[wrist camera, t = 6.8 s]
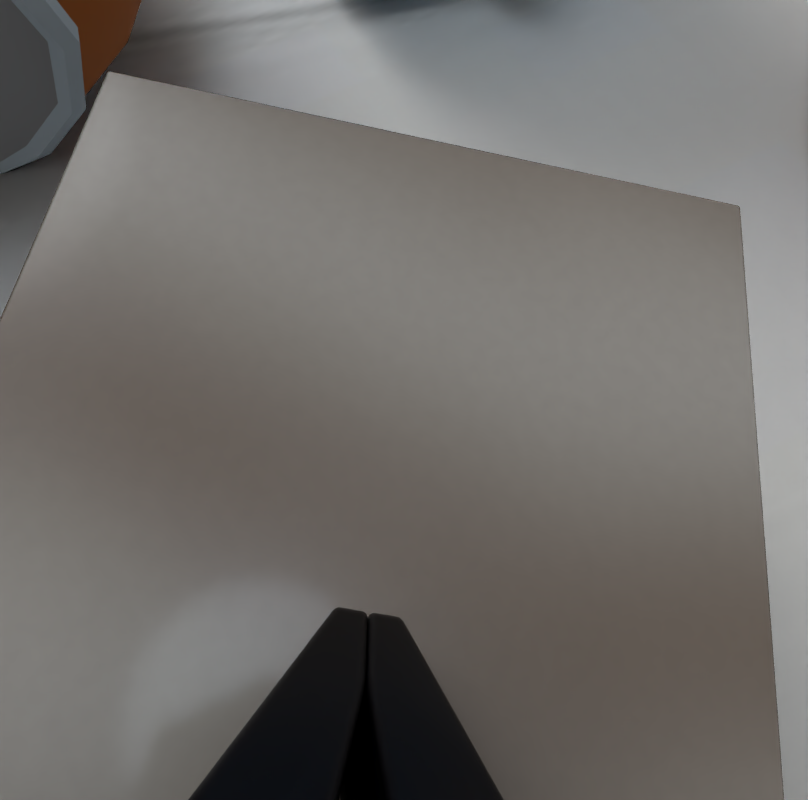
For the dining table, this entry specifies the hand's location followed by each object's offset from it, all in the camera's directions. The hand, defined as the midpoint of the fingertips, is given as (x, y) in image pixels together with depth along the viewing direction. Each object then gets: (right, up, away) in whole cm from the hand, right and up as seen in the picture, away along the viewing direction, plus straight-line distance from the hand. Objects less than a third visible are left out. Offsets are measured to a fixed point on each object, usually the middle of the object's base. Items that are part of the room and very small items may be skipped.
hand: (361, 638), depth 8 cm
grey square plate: (0, +1, +2) cm, 2 cm away
